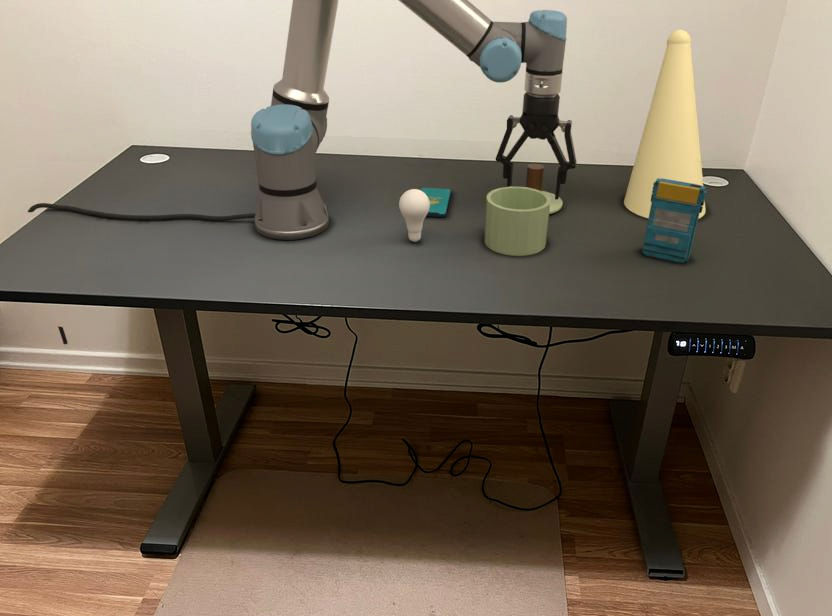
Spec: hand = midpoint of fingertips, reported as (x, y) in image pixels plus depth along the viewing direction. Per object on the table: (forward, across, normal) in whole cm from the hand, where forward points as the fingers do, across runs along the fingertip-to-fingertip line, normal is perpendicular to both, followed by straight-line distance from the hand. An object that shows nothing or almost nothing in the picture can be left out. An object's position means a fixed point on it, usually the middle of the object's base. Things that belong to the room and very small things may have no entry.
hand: (532, 194), depth 163 cm
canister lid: (+2, 0, 0) cm, 2 cm away
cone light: (+3, +29, +11) cm, 31 cm away
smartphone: (+3, -22, -5) cm, 23 cm away
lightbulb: (+3, -21, -25) cm, 33 cm away
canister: (+3, -1, -20) cm, 20 cm away
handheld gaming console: (+3, +29, -19) cm, 35 cm away
